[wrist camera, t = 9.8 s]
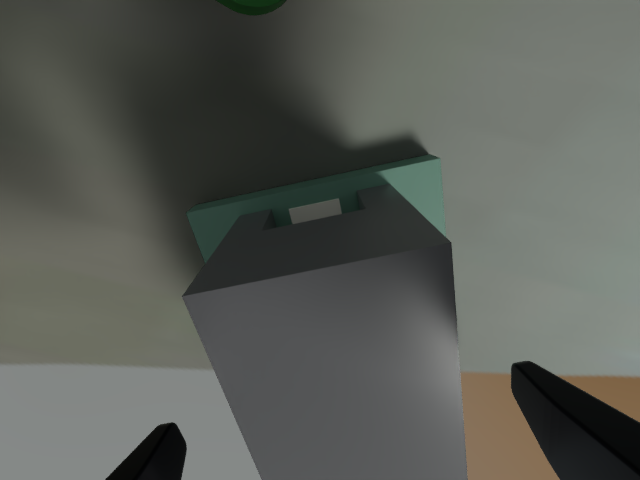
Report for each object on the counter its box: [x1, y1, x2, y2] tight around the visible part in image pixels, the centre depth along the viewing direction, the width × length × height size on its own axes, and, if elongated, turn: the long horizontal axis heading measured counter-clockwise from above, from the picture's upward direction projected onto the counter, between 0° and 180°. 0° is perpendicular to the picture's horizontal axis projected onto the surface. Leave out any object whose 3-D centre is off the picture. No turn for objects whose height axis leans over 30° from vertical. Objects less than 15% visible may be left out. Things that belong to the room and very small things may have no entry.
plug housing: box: [182, 184, 468, 480], centre depth 11 cm, size 6×8×6 cm
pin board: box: [186, 154, 446, 264], centre depth 14 cm, size 10×9×3 cm
